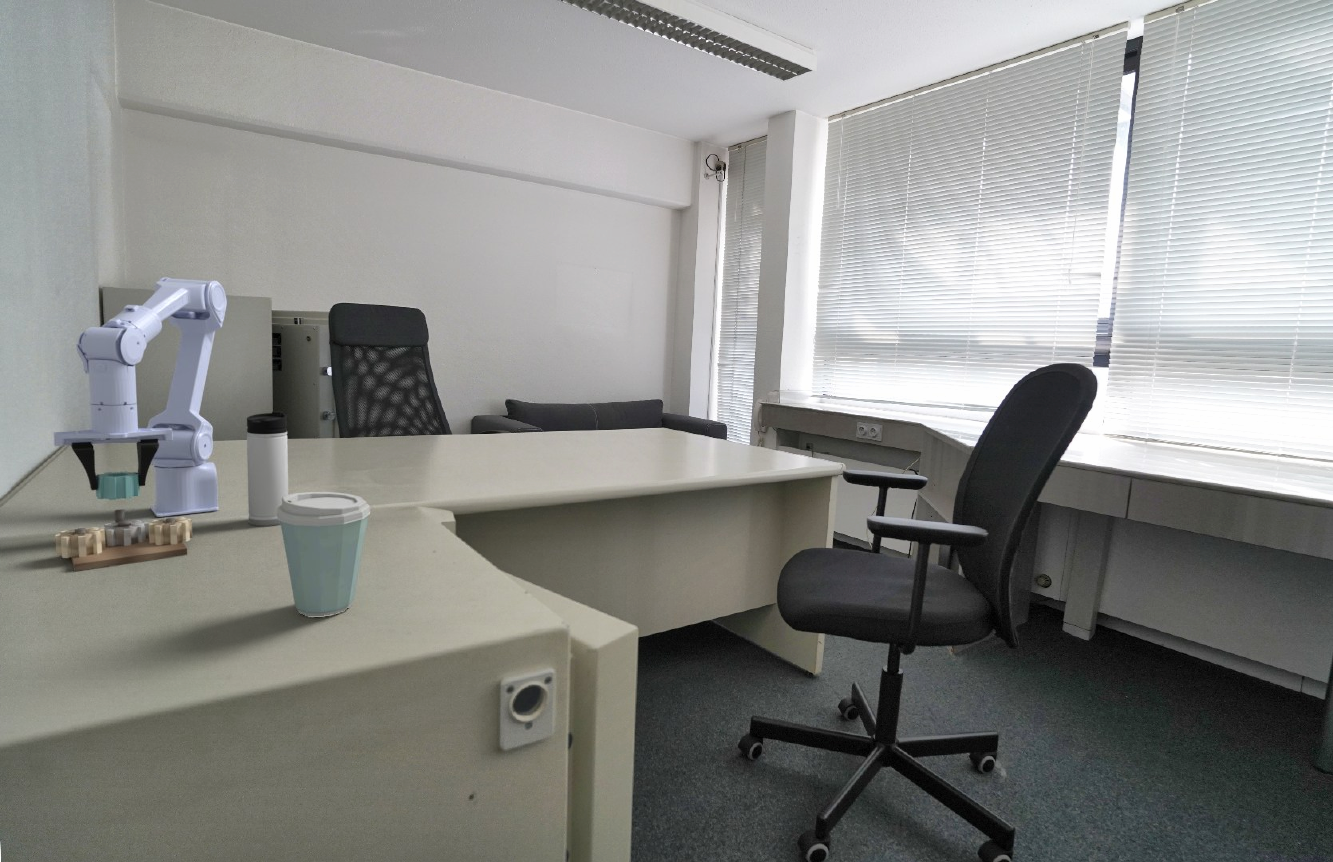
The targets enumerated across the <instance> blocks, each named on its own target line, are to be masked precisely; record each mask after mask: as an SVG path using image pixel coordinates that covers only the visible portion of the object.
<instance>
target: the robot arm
mask: <svg viewBox="0 0 1333 862" xmlns="http://www.w3.org/2000/svg"><path fill="white" fill-rule="evenodd" d="M153 287H154V292H153V294H152V295H151V296H150V297H149V298H148V299H147V300H146V301H145V302H144V303H143V304H142V305H140V304H139V305H138V304H126V305H125V306H124V307H123V310H122V311H120V312H119V313H118V314H117V315H115V316H114V317H113V318H110V319H109V320H108V321H107V322H106V323H104V324H103V325H102V326H101V327H100V326H91V327H88V328H87V329H85V330H83V331H82V332H81V333H80V335H79V336H78V341H77V344H76V351H77V354H78V356H79V358H80V359H81V362H82V366H83V371H84V373H85V374H86V375H88V387H89V403H90V405H89V406H90V420H91V429H86V430H74V431H70V430H69V431H58V432H55V431H54V432H53V445H54V447H65V446H70V447H71V449H72V451H73V452H74V454H75V455H76V457H77V458H78V460H79V461H80V463H81V465H82V466H83V469H84V470H85V472H86V476H87V478H88V481H89V488H90V491H96V490H97V479H96V475H97V474H96V460H95V459H96V457H95V453H96V452H95V451H96V450H95V449H94V448H95V447H94V445H95V444H98V445H99V444H100V445H101V444H115V443H116V444H118V443H135V442H136V452H137V453H136V454H137V463H138V464H137V466H138V467H137V473H138V474H139V486H140V487H145V486H146V480H147V476H148V472H149V469H150V466H153V470H154V471H153V473H154V475H153V476H154V497H155V504H152V505H150V506H149V507H150V510H151V511H152V512H153V513H154V515H155V516H156V517H158V518H160V517H171V516H178V515H188V514H195V513H204V512H206V513H207V512H214V511H218V510H220V509H219V508H220V507H219V499H218V497H219V496H218V494H219V493H218V474H217V468H216V465H215V463H214V462H211V461H210V462H207V461H208V459H209V458H210V457H211V455H212V453H213V449H214V440H213V431H214V428H213V426H212V424H211V423H210V422H209V421H208V420H206V419H205V418H204V417H202V415H200V410H201V405H202V401H203V394H204V390H205V384H206V379H207V375H208V371H209V364H210V360H211V355H212V350H213V345H214V339H215V333H216V331H217V330H220V329H222V327H223V323H224V321H225V315H226V310H227V307H228V306H227V305H228V300H227V297H226V291H225V289H224V287H223V285H222V284H221V283H220V282H219V281H217V280H201V279H199V280H197V279H185V278H184V279H182V278H170V277H166V276H164V277H161V278H160V279H159V280H158V281H156V282H154V286H153ZM164 320H168V322H169V323H170V325H171V326H173V327H175V328H177V329H179V330H180V331H181V338H180V342H179V346H178V352H177V355H176V361H175V366H174V371H173V375H172V379H171V384H170V390H169V393H168V397H167V398H168V400H167V403H166V409H165V410H164V411H162V412H160V413H158V414H157V415H154V416H153V417H152V418H149V420H148V424H147V426H146V428H143V427H139V422H138V421H139V420H138V418H139V417H138V403H137V402H138V401H137V397H138V396H137V376H136V365H137V364H138V363H139V364H140V362H141V361H142V360H143V357H144V352H145V350H146V349H147V346H148V344H149V342H150V341H152V339H154V338H155V337H156V336H157V335H158V334H160V333H161V331H162V328H163V324H162V322H164Z"/></svg>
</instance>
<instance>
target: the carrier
mask: <svg viewBox="0 0 1333 862" xmlns="http://www.w3.org/2000/svg"><path fill="white" fill-rule="evenodd" d="M114 521H115V522H112V523H110V522H109V523H105V524H103V526H102V527H98V526H97V527H95V526H93V527H86V528H85V527H76V528H74V529H71V530H69V529H68V530H63V531H59V533H57V534H55V537H54V538H55V550H56V552H55V553H56V557H60V556H61V558H63V559H69V558H70V560H71V563H72V567H73V570H74V572H78V571H79V570H80V571H87V570H92V568H94V569H101V568H105V567H106V568H107V567H113V566H120V564H121V565H126V564H133V563H134V564H135V563H141V562H146V561H152V560H153V561H154V560H159V559H167V558H168V559H169V558H173V557H180V556H188V547H187V546H186V545H185V544H184V543H185V542H186V543H187V542H189V541H190V540H191V539H192V538H193V523H192V521H193V520H192V519H191V518H186V516H185V517H183V516H180V517H171V516H169V517H164V518H163V519H155V520H152V521H151V523H149V522H148V521H145V522H143V520H139V519H137V520H131V519H130V520H129V519H125V509H121V508H120V509H115V510H114ZM80 571H79V572H80Z"/></svg>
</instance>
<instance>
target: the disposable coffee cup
mask: <svg viewBox="0 0 1333 862" xmlns="http://www.w3.org/2000/svg"><path fill="white" fill-rule="evenodd" d="M370 514H371V506H370V505H369V504H368V503H367V501H366V500H365V499H363V497H362V496H358V495H355V494H350V493H343V492H333V491H307V492H296V493H290V494H288V495H287V496H285V497H282V505H281V506H279V507H278V508H277V514H276V516H277V518H278V520H280V523H281V524H280V528H281V533H282V539H283V544H284V545H283V546H284V549H285V556H286V561H287V566H288V567H287V569H288V573H289V580H290V584H291V590H292V595H293V601H294V602H293V603H294V605H295V609H296V610H297V611H298V614H299V613H300V614H303V615H306V616H324V615H330V614H336V613H338V612H341V611H344V610H346V609H347V608H349V609H350V608H351V606H352V604H353V602H354V600H355V595H356V588H357V583H358V577H359V573H360V572H359V571H360V566H361V561H362V555H363V549H364V543H365V537H366V532H367V526H368V521H369V515H370ZM300 614H299V615H300ZM303 615H302V616H303ZM306 616H305V617H306Z"/></svg>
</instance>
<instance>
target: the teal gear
mask: <svg viewBox="0 0 1333 862" xmlns="http://www.w3.org/2000/svg"><path fill="white" fill-rule="evenodd" d="M96 479H97V490H95V491H96V493H95V495H96V498H97V499H98V500H110V501H112V500H113V501H115V500H121V499H126V500H128V499H132V497H139V496H140V494H141V492H140V491H141V489H140V488H141V486H139V474H138V471H137V472H136V471H134V472H133V471H132V472H131V471H130V472H129V471H117V472H112V471H109V472H107V471H106V472H104V473H100V474H99V473H98V474H96Z"/></svg>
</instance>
